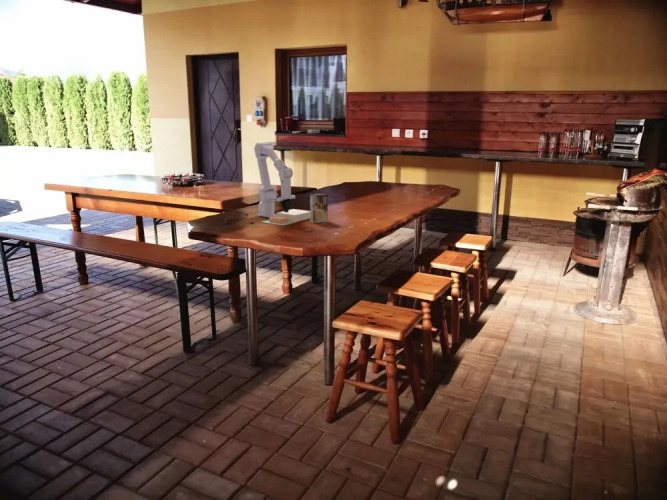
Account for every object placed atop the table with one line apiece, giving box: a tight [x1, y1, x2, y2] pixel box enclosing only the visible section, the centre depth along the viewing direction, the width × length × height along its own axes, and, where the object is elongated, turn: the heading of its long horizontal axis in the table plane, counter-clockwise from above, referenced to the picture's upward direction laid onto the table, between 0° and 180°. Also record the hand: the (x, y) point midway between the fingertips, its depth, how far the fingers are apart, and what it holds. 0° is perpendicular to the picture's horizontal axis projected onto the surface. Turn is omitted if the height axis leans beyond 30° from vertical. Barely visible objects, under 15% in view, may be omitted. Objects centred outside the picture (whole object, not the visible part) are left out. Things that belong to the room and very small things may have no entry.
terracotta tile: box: [268, 216, 288, 224], centre depth 303 cm, size 9×6×2 cm, turn 55°
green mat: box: [261, 219, 297, 227], centre depth 304 cm, size 16×12×1 cm
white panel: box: [276, 208, 310, 223], centre depth 314 cm, size 14×16×4 cm
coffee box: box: [309, 193, 329, 224], centre depth 305 cm, size 9×6×16 cm
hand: (286, 212), depth 308 cm, fingers closed
